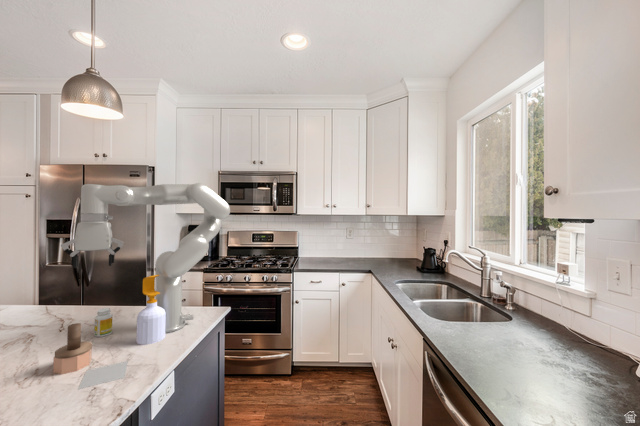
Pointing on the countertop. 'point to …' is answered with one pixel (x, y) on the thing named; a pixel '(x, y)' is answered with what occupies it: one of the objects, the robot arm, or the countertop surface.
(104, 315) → the supplement bottle
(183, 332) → the countertop surface
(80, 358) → the octagonal peach pot
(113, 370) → the mat
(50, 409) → the countertop surface
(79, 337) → the lid
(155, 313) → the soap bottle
